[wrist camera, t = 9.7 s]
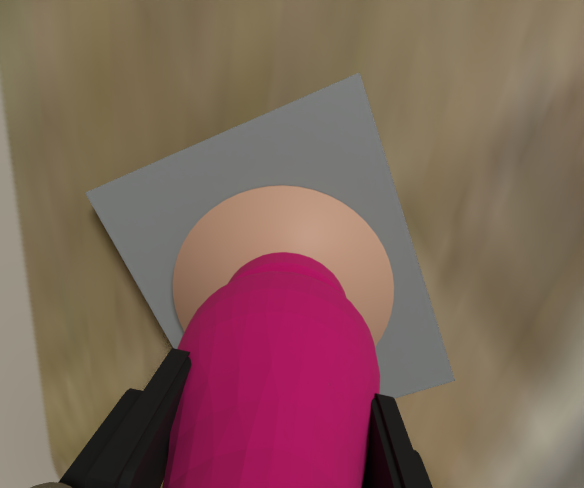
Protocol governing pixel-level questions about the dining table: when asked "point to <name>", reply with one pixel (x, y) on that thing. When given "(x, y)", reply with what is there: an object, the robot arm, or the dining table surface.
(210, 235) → the slate board
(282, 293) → the pepper mill
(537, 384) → the dining table surface
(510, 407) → the dining table surface
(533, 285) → the dining table surface
